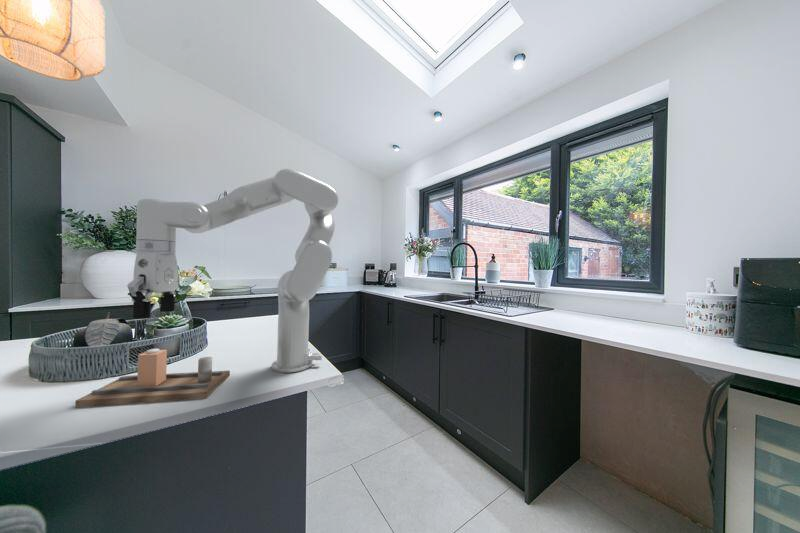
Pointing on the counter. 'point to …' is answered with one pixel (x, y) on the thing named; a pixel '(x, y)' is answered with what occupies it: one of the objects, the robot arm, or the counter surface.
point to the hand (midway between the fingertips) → (155, 314)
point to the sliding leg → (151, 368)
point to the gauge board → (159, 388)
